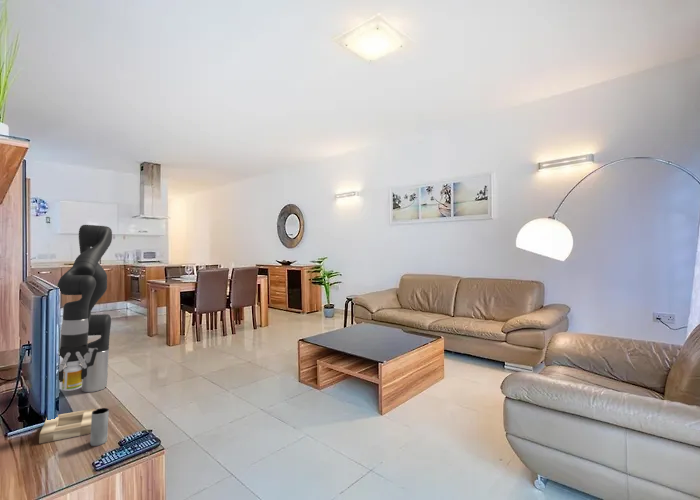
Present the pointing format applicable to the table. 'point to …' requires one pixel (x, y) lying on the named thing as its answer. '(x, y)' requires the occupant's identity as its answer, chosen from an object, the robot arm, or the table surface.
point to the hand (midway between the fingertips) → (72, 379)
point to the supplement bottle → (72, 376)
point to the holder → (66, 426)
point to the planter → (99, 426)
